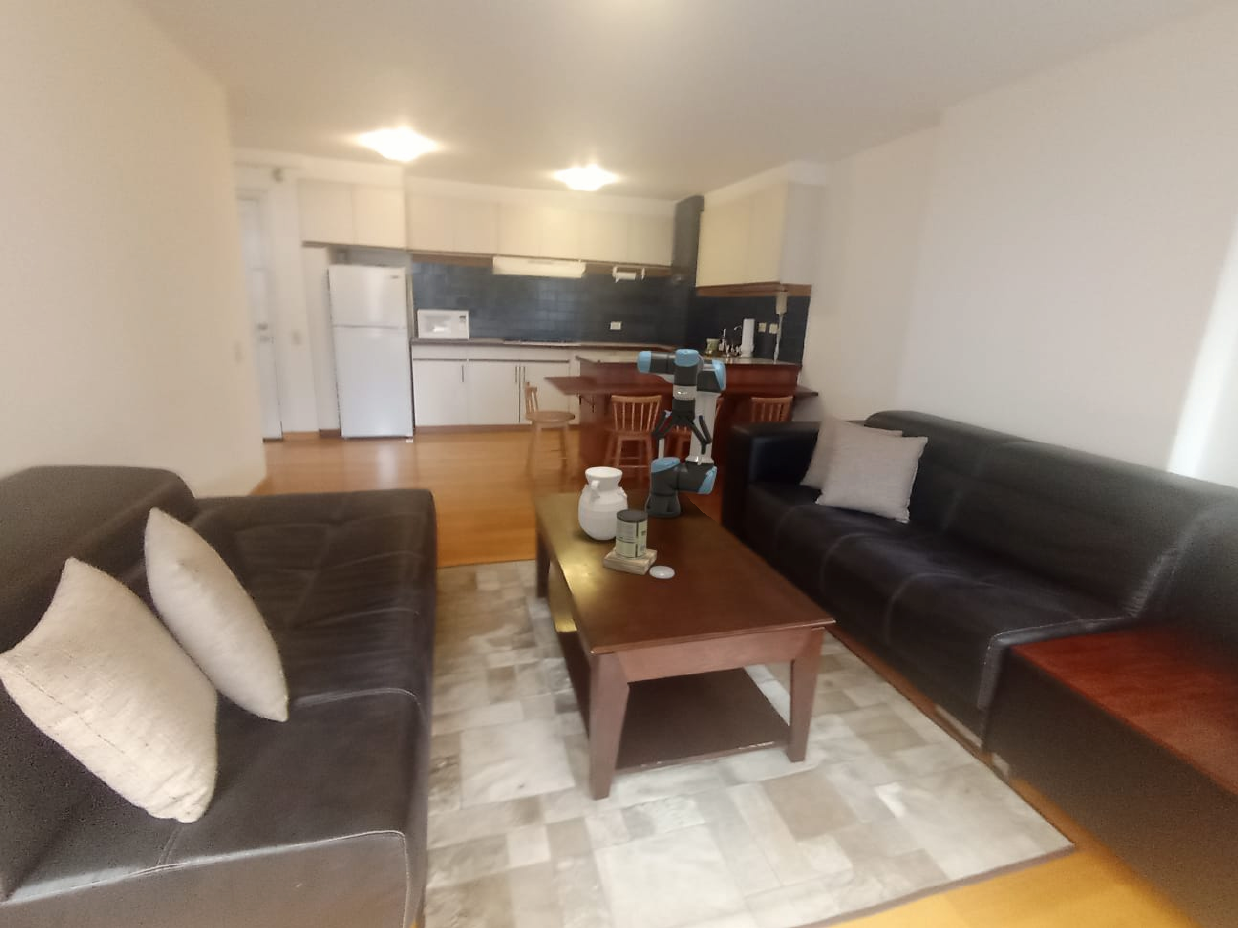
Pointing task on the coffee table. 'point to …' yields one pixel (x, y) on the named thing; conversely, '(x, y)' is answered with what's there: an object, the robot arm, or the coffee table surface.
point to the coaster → (662, 572)
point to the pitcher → (601, 502)
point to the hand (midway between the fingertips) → (680, 461)
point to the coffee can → (631, 534)
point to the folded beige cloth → (630, 562)
